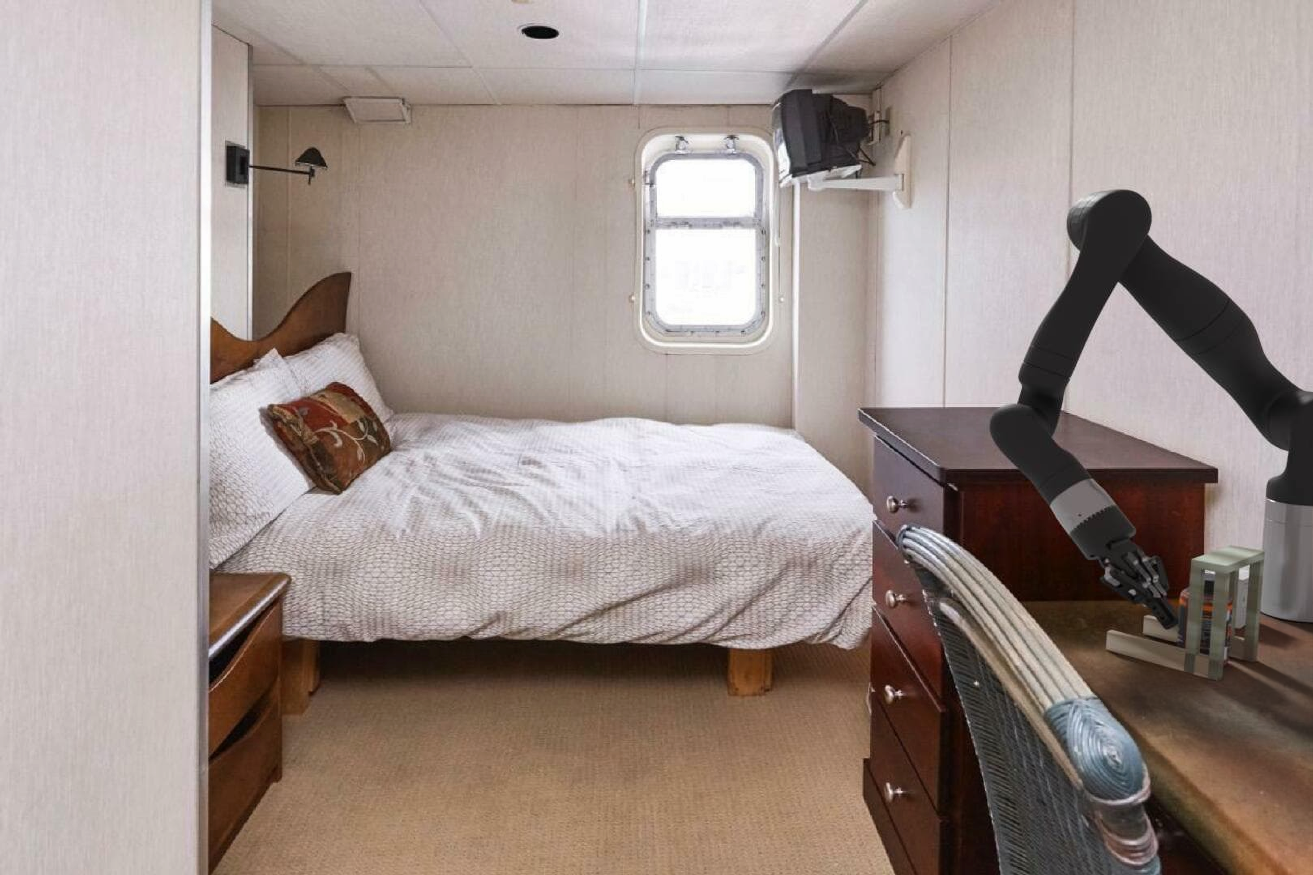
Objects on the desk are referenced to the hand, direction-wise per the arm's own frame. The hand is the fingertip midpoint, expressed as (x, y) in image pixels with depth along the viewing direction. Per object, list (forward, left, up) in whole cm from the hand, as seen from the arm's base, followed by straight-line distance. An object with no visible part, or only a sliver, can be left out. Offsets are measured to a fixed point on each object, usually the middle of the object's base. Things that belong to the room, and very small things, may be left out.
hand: (1175, 625), depth 125 cm
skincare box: (-20, -2, -4) cm, 21 cm away
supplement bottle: (0, +3, -4) cm, 5 cm away
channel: (0, +1, -4) cm, 4 cm away
